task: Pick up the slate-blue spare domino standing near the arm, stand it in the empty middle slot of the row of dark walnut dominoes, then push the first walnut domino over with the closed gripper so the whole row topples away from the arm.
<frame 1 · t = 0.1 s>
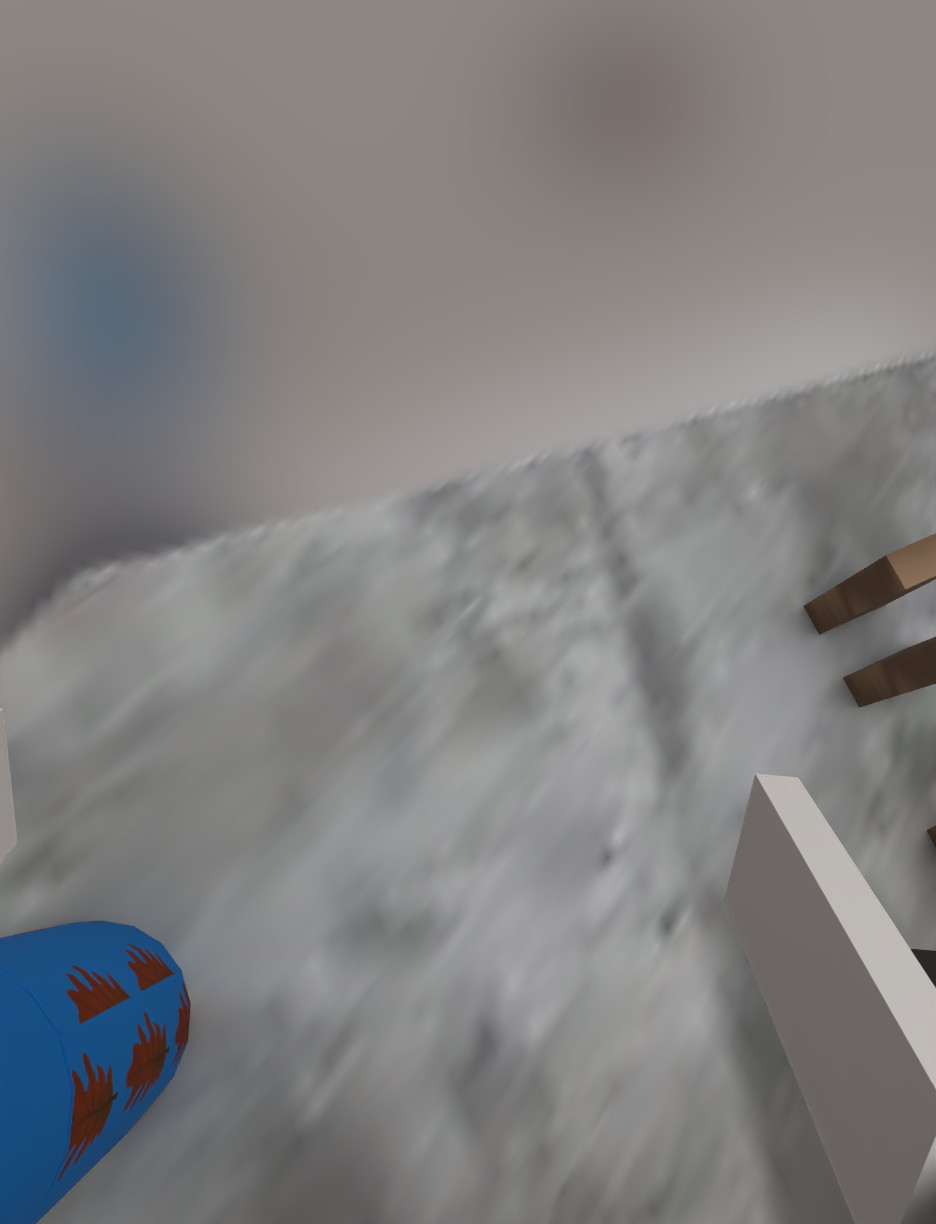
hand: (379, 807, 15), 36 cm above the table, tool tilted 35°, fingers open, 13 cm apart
thermos: (92, 1023, 47), on the table
domino 4: (885, 676, 54), on the table
domino 5: (845, 605, 55), on the table
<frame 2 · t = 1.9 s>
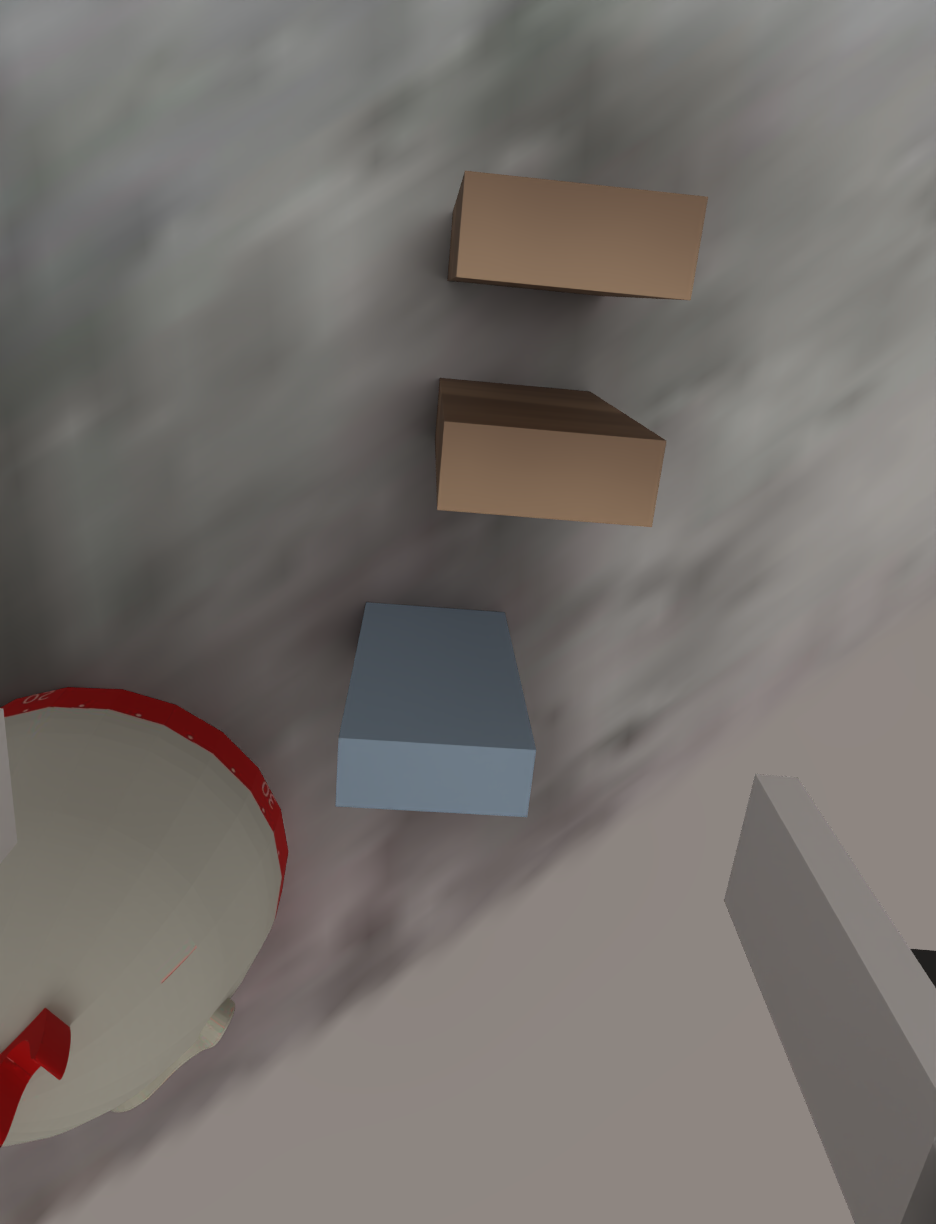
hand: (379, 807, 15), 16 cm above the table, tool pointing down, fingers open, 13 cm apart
domino 2: (529, 254, 27), on the table
domino 1: (512, 415, 29), on the table
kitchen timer: (112, 842, 35), on the table
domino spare: (433, 633, 32), on the table
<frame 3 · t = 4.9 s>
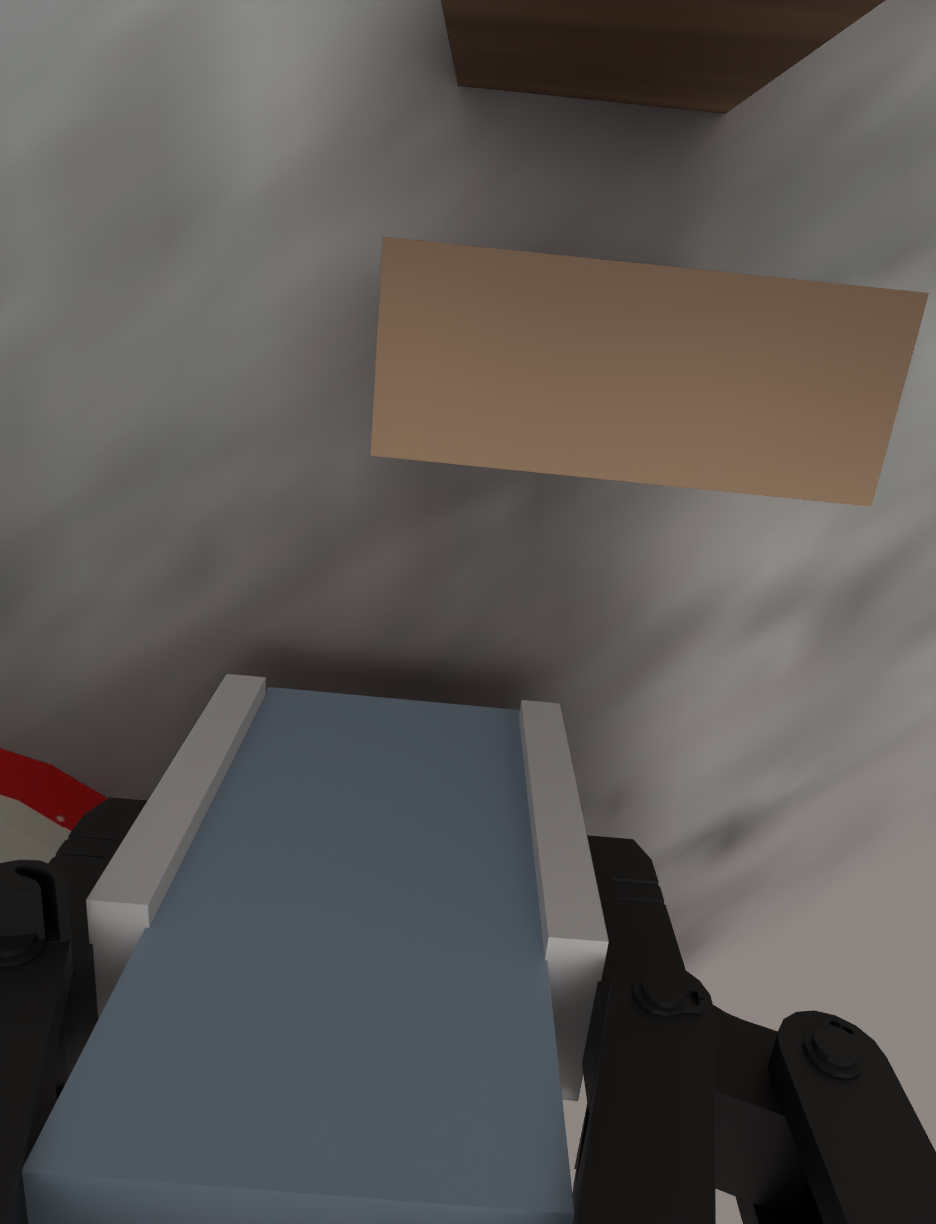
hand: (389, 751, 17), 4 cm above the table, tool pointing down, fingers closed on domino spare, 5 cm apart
domino 2: (600, 36, 16), on the table
domino 1: (562, 324, 18), on the table
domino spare: (391, 742, 18), point 3 cm above the table, touching gripper
when the fingers open (1 cm above the table, at t = 9.7 s): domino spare stays where it is, on the table.
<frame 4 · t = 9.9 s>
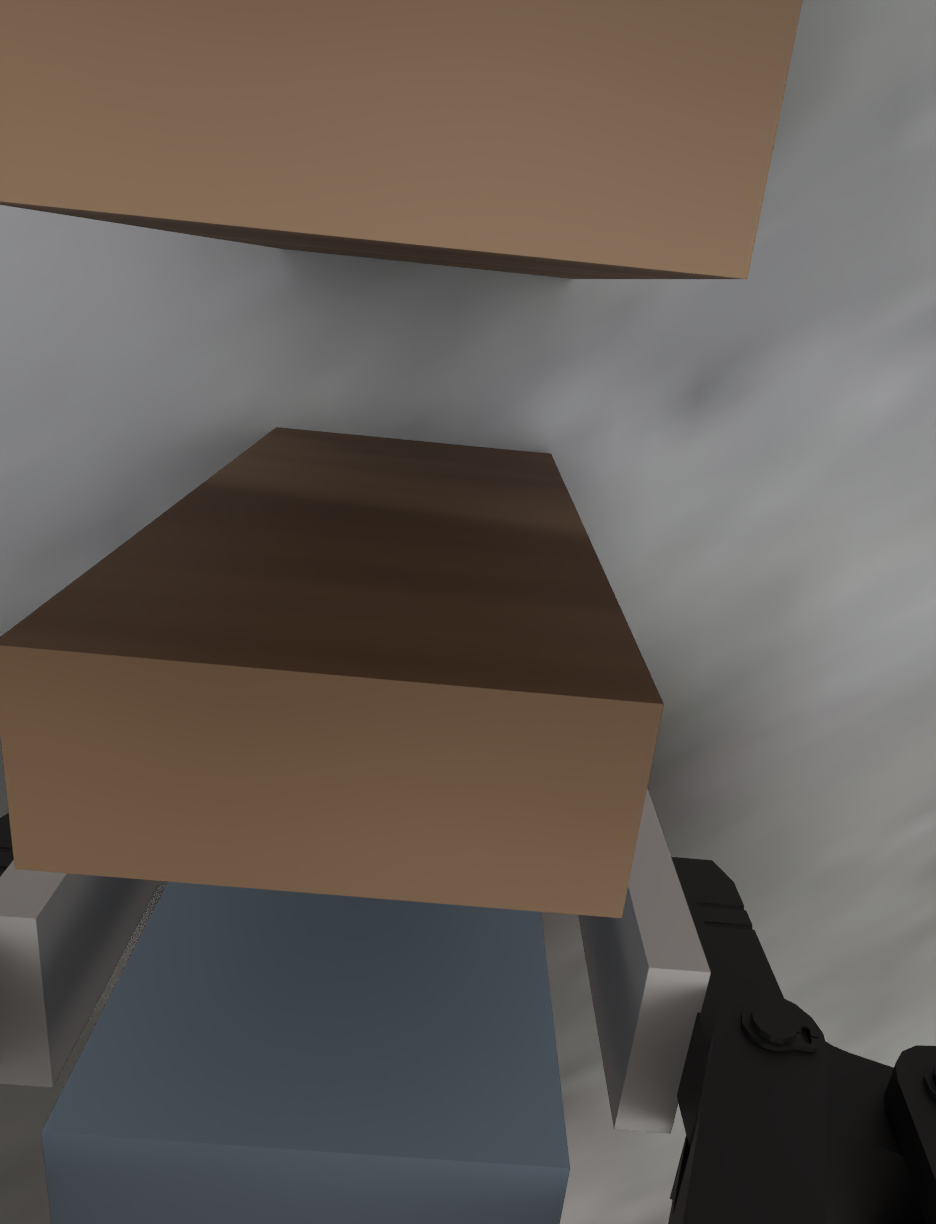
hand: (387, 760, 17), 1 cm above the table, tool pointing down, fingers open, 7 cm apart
domino 4: (410, 494, 16), on the table
domino 5: (432, 198, 14), on the table
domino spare: (391, 733, 18), on the table
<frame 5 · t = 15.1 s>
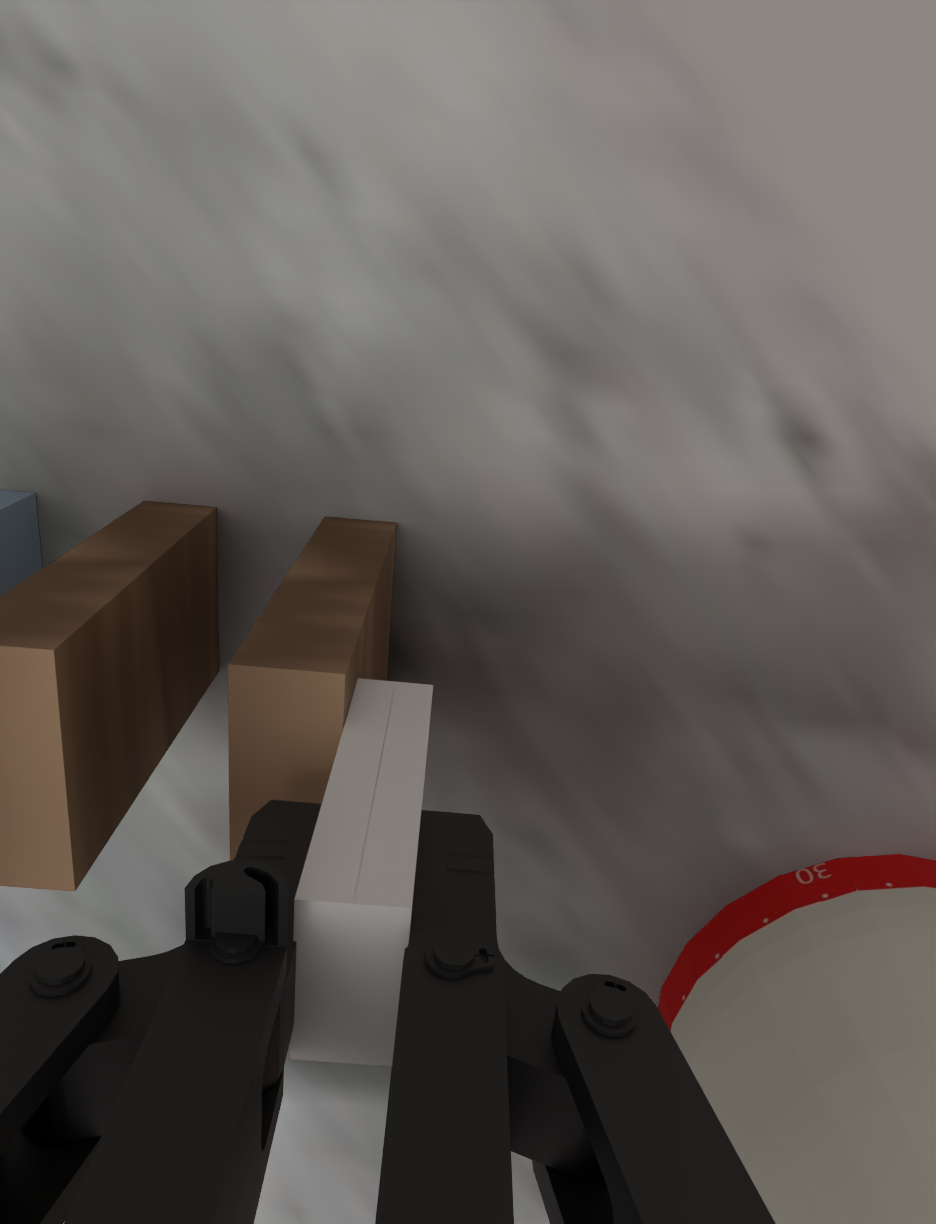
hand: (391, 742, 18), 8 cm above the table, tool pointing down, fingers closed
domino 2: (182, 589, 25), on the table
domino 1: (357, 603, 25), on the table, touching gripper
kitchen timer: (849, 1013, 31), on the table
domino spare: (8, 575, 25), on the table
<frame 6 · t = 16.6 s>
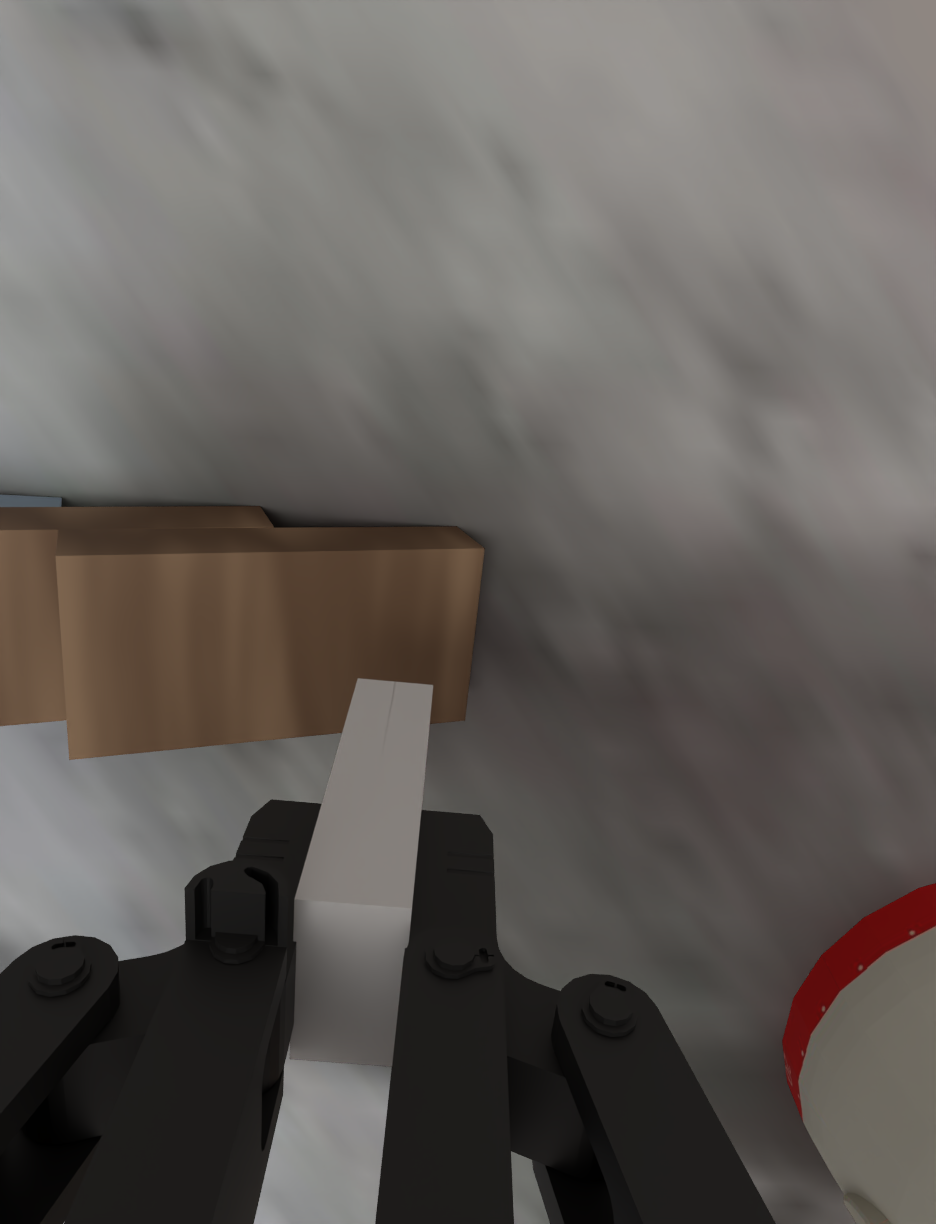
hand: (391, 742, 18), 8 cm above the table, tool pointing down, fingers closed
domino 2: (265, 604, 24), point 1 cm above the table, tilted 67°, touching domino 1, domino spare
domino 1: (460, 623, 24), point 1 cm above the table, tilted 68°, touching domino 2
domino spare: (61, 596, 24), point 1 cm above the table, tilted 67°, touching domino 2, domino 4
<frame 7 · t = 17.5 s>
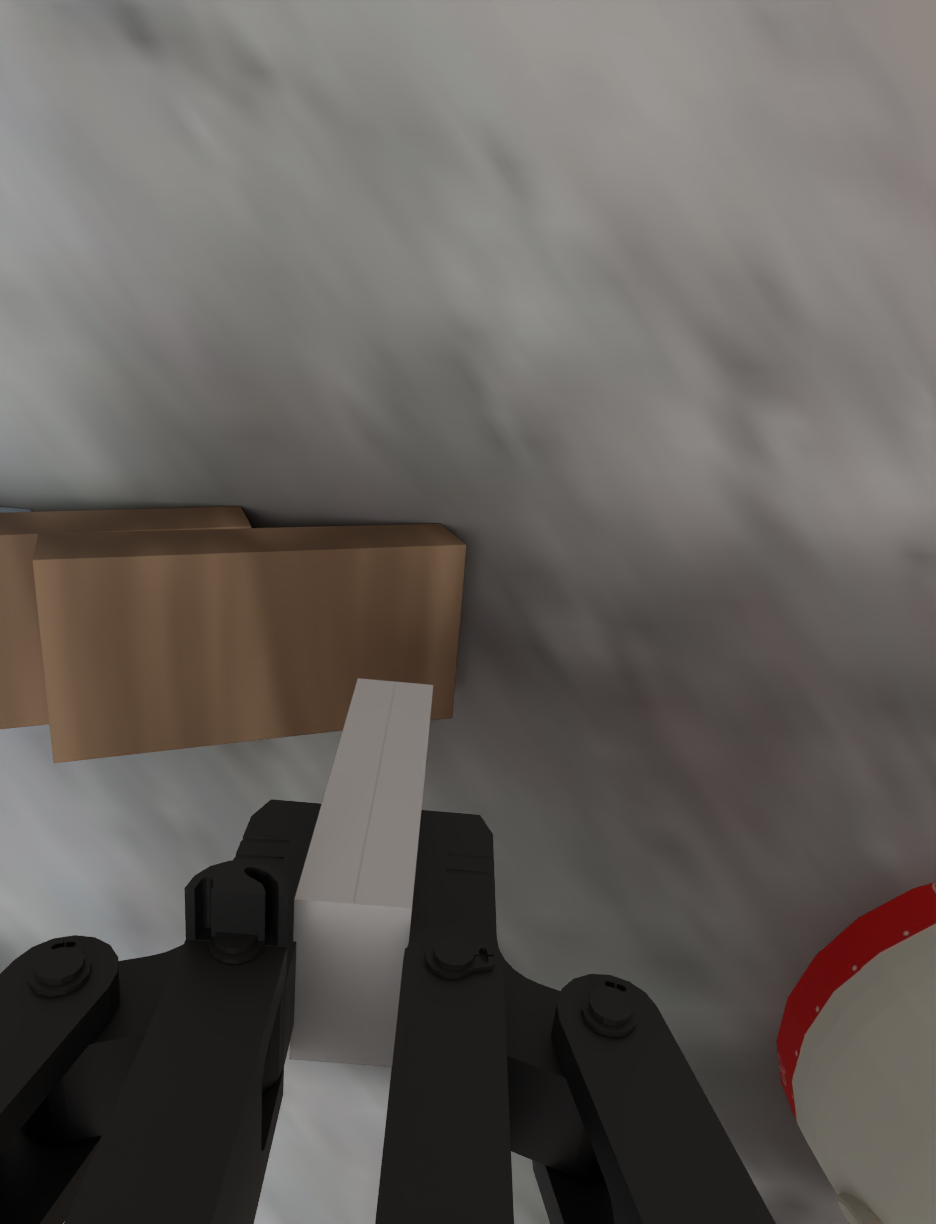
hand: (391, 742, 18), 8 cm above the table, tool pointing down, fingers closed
domino 2: (247, 604, 24), point 1 cm above the table, tilted 68°
domino 1: (446, 620, 24), point 1 cm above the table, tilted 68°
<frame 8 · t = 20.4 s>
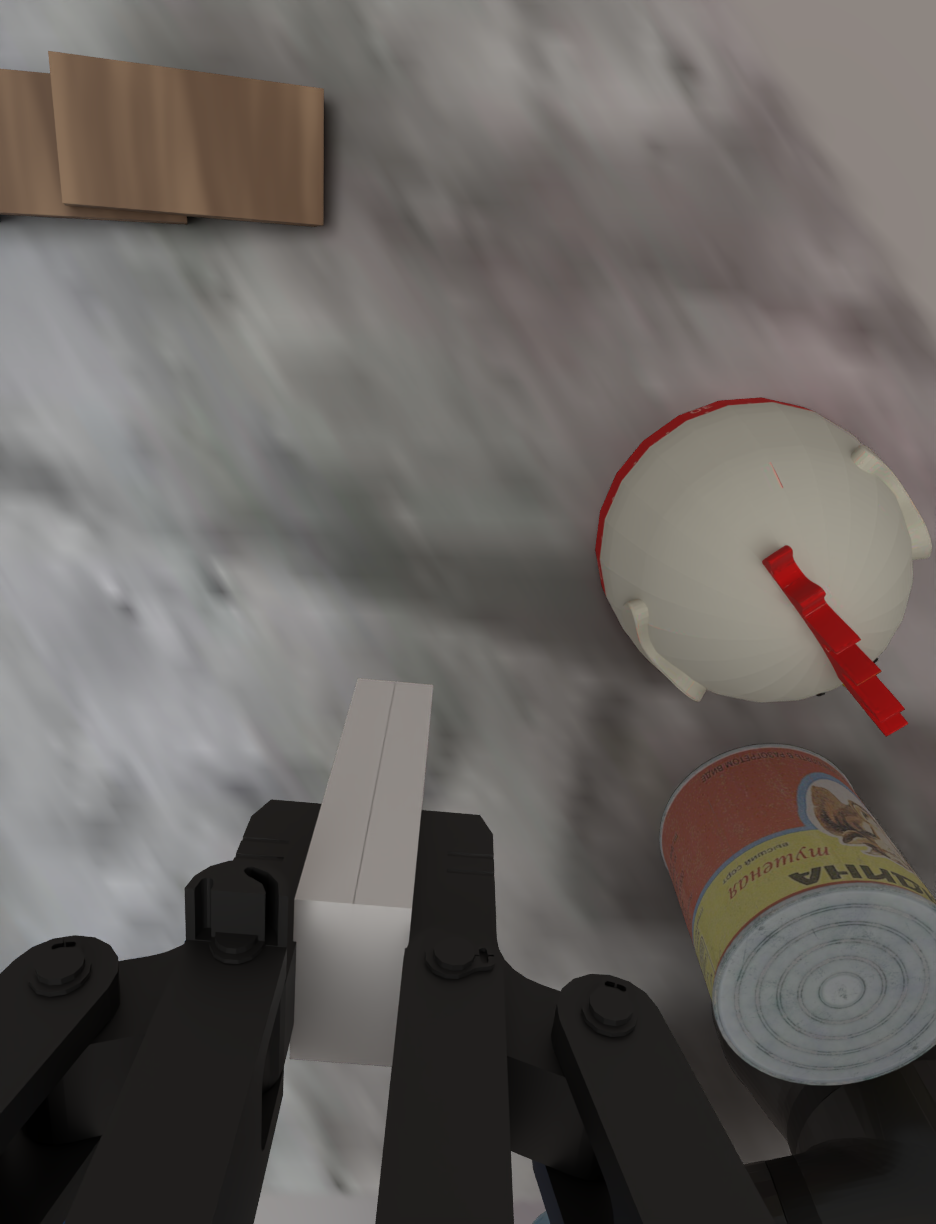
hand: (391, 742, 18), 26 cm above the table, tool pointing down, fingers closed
domino 2: (182, 158, 37), point 1 cm above the table, tilted 73°, touching domino 1, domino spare
domino 1: (319, 161, 37), point 1 cm above the table, tilted 70°, touching domino 2
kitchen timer: (733, 538, 44), on the table
canned food: (757, 828, 50), on the table
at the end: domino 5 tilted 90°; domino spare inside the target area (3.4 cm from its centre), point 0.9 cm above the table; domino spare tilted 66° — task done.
